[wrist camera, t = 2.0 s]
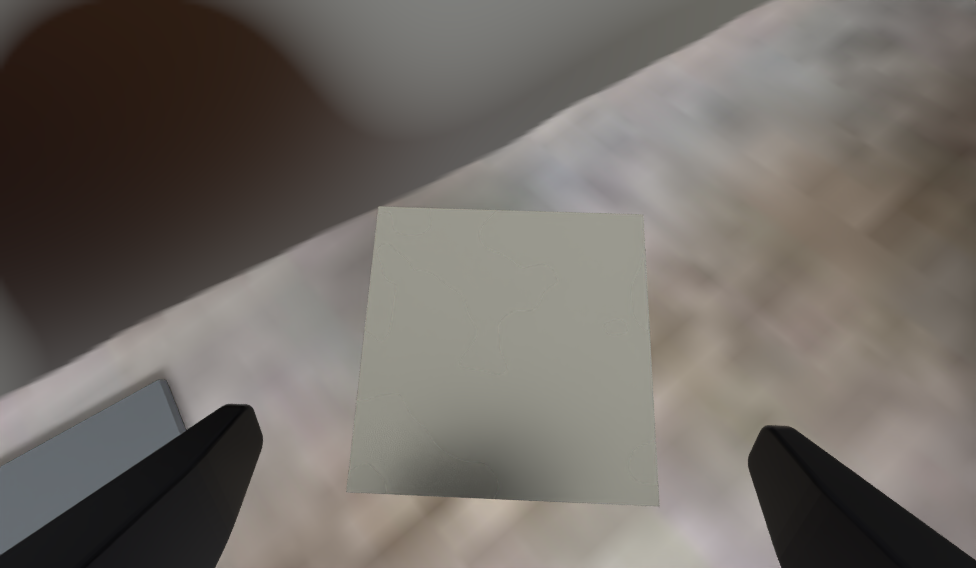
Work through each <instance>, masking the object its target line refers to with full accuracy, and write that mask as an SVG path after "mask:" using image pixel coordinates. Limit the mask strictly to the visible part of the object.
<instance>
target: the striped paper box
mask: <svg viewBox="0 0 976 568" xmlns="http://www.w3.org/2000/svg"><path fill="white" fill-rule="evenodd" d="M346 492H351V493H373V494H395V495H417V496H439V497H461V498H484V499H506V500H528V501H550V502H572V503H594V504H616V505H638V506H659V491H658V473H657V455H656V436H655V418H654V400H653V382H652V364H651V346H650V327H649V309H648V291H647V273H646V255H645V237H644V218H643V215H639V214H607V213H575V212H542V211H510V210H478V209H445V208H413V207H380V206H379V207H378V213H377V222H376V231H375V240H374V249H373V258H372V267H371V276H370V285H369V294H368V303H367V312H366V321H365V330H364V339H363V347H362V356H361V365H360V374H359V383H358V392H357V401H356V410H355V419H354V428H353V437H352V446H351V455H350V464H349V473H348V482H347V491H346Z"/></svg>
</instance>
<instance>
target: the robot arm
mask: <svg viewBox="0 0 976 568" xmlns="http://www.w3.org/2000/svg"><path fill="white" fill-rule="evenodd" d="M262 445H263V435H262V432H261V429H260V426H259V423H258V421H257V418H256V415H255V412H254V409H253V408H252V407H251V406H250V405H247V404H226V405H224V406H222V407H220V408H219V409H217V410H216V411H214V412H213V413H211V414H210V415H208V416H207V417H205V418H204V419H202V420H201V421H199V422H198V423H196V424H195V425H194V426H192V427H191V428H189V429H188V430H186V431H185V432H183V433H182V434H180V435H179V436H177V437H176V438H174V439H173V440H171V441H170V442H168V443H167V444H165V445H164V446H162V447H161V448H159V449H158V450H156V451H155V452H153V453H152V454H150V455H149V456H147V457H146V458H144V459H143V460H141V461H140V462H138V463H137V464H135V465H134V466H132V467H131V468H129V469H128V470H126V471H125V472H123V473H122V474H120V475H119V476H117V477H116V478H114V479H113V480H111V481H110V482H108V483H107V484H105V485H104V486H102V487H101V488H99V489H98V490H96V491H95V492H93V493H92V494H90V495H89V496H87V497H86V498H85V499H83V500H82V501H80V502H79V503H77V504H76V505H74V506H73V507H71V508H70V509H68V510H67V511H65V512H64V513H62V514H61V515H59V516H58V517H56V518H55V519H53V520H52V521H50V522H49V523H47V524H46V525H44V526H43V527H41V528H40V529H38V530H37V531H35V532H34V533H32V534H31V535H29V536H28V537H26V538H25V539H23V540H22V541H20V542H19V543H17V544H16V545H14V546H13V547H11V548H10V549H8V550H7V551H5V552H4V553H2V554H1V555H0V568H215V567H216V565H217V563H218V561H219V558H220V556H221V554H222V552H223V550H224V548H225V546H226V543H227V541H228V539H229V537H230V534H231V532H232V529H233V527H234V524H235V522H236V519H237V516H238V513H239V511H240V508H241V505H242V502H243V500H244V497H245V494H246V491H247V488H248V486H249V483H250V480H251V477H252V475H253V472H254V469H255V466H256V463H257V461H258V458H259V455H260V452H261V449H262ZM748 467H749V472H750V475H751V478H752V481H753V484H754V487H755V490H756V493H757V496H758V500H759V503H760V506H761V509H762V512H763V515H764V518H765V521H766V525H767V528H768V531H769V534H770V537H771V540H772V543H773V546H774V549H775V552H776V555H777V558H778V560H779V563H780V565H781V568H976V560H975V559H973V558H972V557H970V556H969V555H968V554H966V553H965V552H964V551H962V550H961V549H959V548H958V547H957V546H955V545H954V544H952V543H951V542H950V541H948V540H947V539H946V538H944V537H943V536H941V535H940V534H939V533H937V532H936V531H935V530H933V529H932V528H930V527H929V526H928V525H926V524H925V523H924V522H922V521H921V520H919V519H918V518H917V517H915V516H914V515H913V514H911V513H910V512H908V511H907V510H906V509H904V508H903V507H901V506H900V505H899V504H897V503H896V502H895V501H893V500H892V499H890V498H889V497H888V496H886V495H885V494H884V493H882V492H881V491H879V490H878V489H877V488H875V487H874V486H873V485H871V484H870V483H868V482H867V481H866V480H864V479H863V478H862V477H860V476H859V475H857V474H856V473H855V472H853V471H852V470H850V469H849V468H848V467H846V466H845V465H844V464H842V463H841V462H839V461H838V460H837V459H835V458H834V457H833V456H831V455H830V454H828V453H827V452H826V451H824V450H823V449H822V448H820V447H819V446H817V445H816V444H815V443H813V442H812V441H811V440H809V439H808V438H806V437H805V436H804V435H802V434H801V433H799V432H798V431H797V430H795V429H794V428H792V427H789V426H776V425H767V426H765V427H763V428H762V429H761V431H760V433H759V435H758V437H757V439H756V441H755V443H754V445H753V447H752V450H751V452H750V454H749V457H748Z"/></svg>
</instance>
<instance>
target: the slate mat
mask: <svg viewBox="0 0 976 568" xmlns="http://www.w3.org/2000/svg"><path fill="white" fill-rule="evenodd" d="M185 431H186V429H185V427H184V424H183V422H182V419H181V416H180V414H179V411H178V409H177V406H176V404H175V401H174V399H173V396H172V394H171V391H170V389H169V386H168V383H167V381H166V380H157V381H155V382H153V383H152V384H150V385H148V386H146V387H144V388H142V389H141V390H139V391H137V392H135V393H133V394H132V395H130V396H128V397H126V398H124V399H122V400H121V401H119V402H117V403H115V404H113V405H112V406H110V407H108V408H106V409H104V410H102V411H101V412H99V413H97V414H95V415H93V416H92V417H90V418H88V419H86V420H84V421H83V422H81V423H79V424H77V425H75V426H73V427H72V428H70V429H68V430H66V431H64V432H63V433H61V434H59V435H57V436H55V437H53V438H52V439H50V440H48V441H46V442H44V443H43V444H41V445H39V446H37V447H35V448H33V449H32V450H30V451H28V452H26V453H24V454H23V455H21V456H19V457H17V458H15V459H14V460H12V461H10V462H8V463H6V464H4V465H3V466H1V467H0V555H1V554H2V553H4V552H5V551H7V550H8V549H10V548H11V547H13V546H14V545H16V544H17V543H19V542H20V541H22V540H23V539H25V538H26V537H28V536H29V535H31V534H32V533H34V532H35V531H37V530H38V529H40V528H41V527H43V526H44V525H46V524H47V523H49V522H50V521H52V520H53V519H55V518H56V517H58V516H59V515H61V514H62V513H64V512H65V511H67V510H68V509H70V508H71V507H73V506H74V505H76V504H77V503H79V502H80V501H82V500H83V499H85V498H86V497H87V496H89V495H90V494H92V493H93V492H95V491H96V490H98V489H99V488H101V487H102V486H104V485H105V484H107V483H108V482H110V481H111V480H113V479H114V478H116V477H117V476H119V475H120V474H122V473H123V472H125V471H126V470H128V469H129V468H131V467H132V466H134V465H135V464H137V463H138V462H140V461H141V460H143V459H144V458H146V457H147V456H149V455H150V454H152V453H153V452H155V451H156V450H158V449H159V448H161V447H162V446H164V445H165V444H167V443H168V442H170V441H171V440H173V439H174V438H176V437H177V436H179V435H180V434H182V433H183V432H185Z"/></svg>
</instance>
